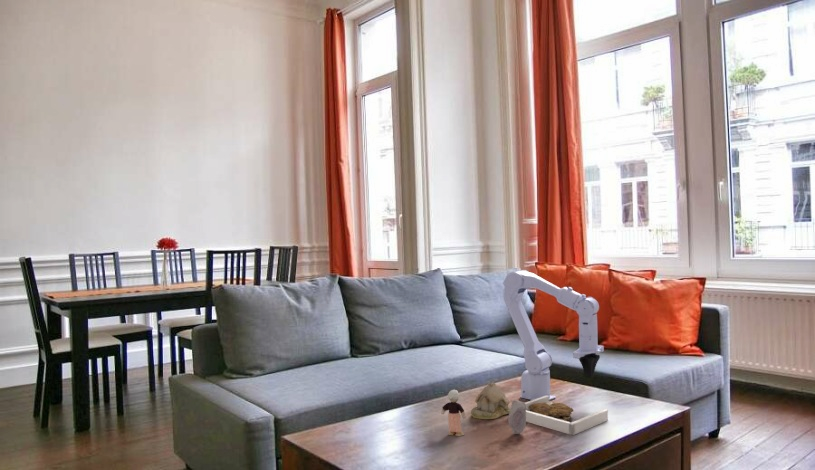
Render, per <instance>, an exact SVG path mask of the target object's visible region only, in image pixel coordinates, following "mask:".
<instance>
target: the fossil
mask: <svg viewBox="0 0 815 470" xmlns="http://www.w3.org/2000/svg"><path fill="white" fill-rule="evenodd" d="M510 407H511V409H510V408H509V409H510V412H509V414H508V418H507V420H508V424H509V427H510V430H511V431H512V433H513V434H515V435H521V434H522V433H523V432H524V431H525V429H526V427H527V426H526V425H527V422H526V404H525V401H524V402H523V401H522V400H521V401H520V400H517V399H513V400H512V402H511V406H510Z"/></svg>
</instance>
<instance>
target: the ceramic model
mask: <svg viewBox="0 0 815 470" xmlns="http://www.w3.org/2000/svg"><path fill="white" fill-rule="evenodd" d="M474 402H476V406H474V407H473V408H471V410H470V414H471V416H472V417H473V418H474V419H479V420H493V419H498V418H500V417H502V416H504V415H509V412H510V407H509V404H510V400H509V399H508V398H507V397H506V395H505V393H504V392H503V390H502V389H501V388H499V386H498V385H497V384H496V382H493V381H488V383H487V385H486V386H484V388H483V389H482V390H481V391H480V392H479V394H478V395H477V396H476V398H475V401H474Z"/></svg>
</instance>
